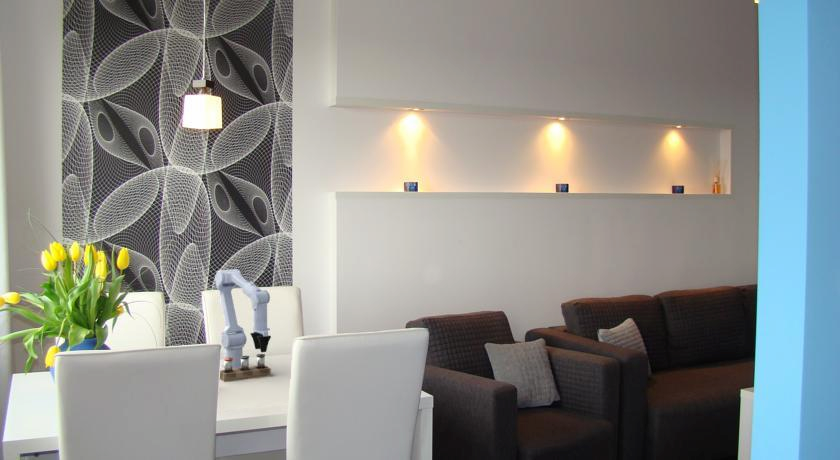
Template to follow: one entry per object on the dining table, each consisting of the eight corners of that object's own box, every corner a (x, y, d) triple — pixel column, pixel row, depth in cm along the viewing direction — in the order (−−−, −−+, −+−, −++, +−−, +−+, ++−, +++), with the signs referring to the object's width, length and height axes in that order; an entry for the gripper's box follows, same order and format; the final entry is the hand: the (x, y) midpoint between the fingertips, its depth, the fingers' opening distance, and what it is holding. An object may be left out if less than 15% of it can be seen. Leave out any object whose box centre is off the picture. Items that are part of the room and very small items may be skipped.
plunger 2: (255, 367, 314) (255, 354, 313) (263, 366, 315) (263, 353, 315) (258, 368, 310) (258, 355, 310) (266, 367, 312) (266, 355, 312)
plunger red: (223, 371, 306) (222, 358, 306) (231, 370, 308) (231, 357, 308) (225, 373, 303) (225, 359, 303) (234, 371, 305) (233, 358, 305)
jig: (218, 377, 308) (218, 370, 308) (264, 371, 318) (264, 365, 318) (224, 381, 301) (224, 374, 301) (270, 375, 311) (270, 368, 311)
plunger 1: (239, 369, 310) (239, 356, 310) (247, 368, 312) (247, 355, 312) (242, 370, 307) (241, 357, 307) (250, 369, 309) (250, 356, 309)
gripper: (275, 320, 308) (275, 352, 308) (264, 316, 320) (264, 346, 321) (258, 322, 304) (259, 354, 305) (248, 317, 317) (248, 348, 317)
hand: (260, 350), depth 313 cm, fingers open, 7 cm apart
